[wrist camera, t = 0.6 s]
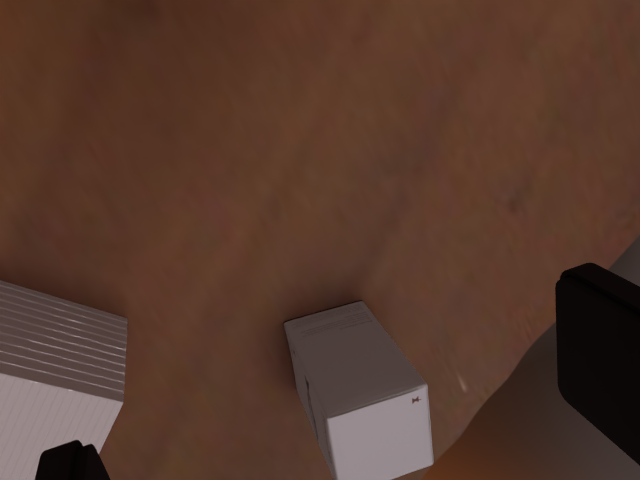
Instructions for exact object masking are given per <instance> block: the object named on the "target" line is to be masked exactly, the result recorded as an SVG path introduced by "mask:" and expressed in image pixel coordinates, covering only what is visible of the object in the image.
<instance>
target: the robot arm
mask: <svg viewBox="0 0 640 480" xmlns="http://www.w3.org/2000/svg"><path fill="white" fill-rule="evenodd" d="M555 292H556V329H557V330H556V331H557V371H558V387H559V390H560V393H561V394H562V396H563V398H564V399H565V400H566V401H567V402H568V403H569V404H570V405H571V406H572V407H573V408H574V409H576V410H577V411H578V412H579V413H580V414H581V415H582V416H584V417H585V418H586V419H587V420H588V421H589V422H590V423H592V424H593V425H594V426H595V427H596V428H597V429H599V430H600V431H601V432H602V433H603V434H604V435H606V436H607V437H608V438H609V439H610V440H611V441H612V442H613V443H615V444H616V445H617V446H618V447H619V448H620V449H622V450H623V451H624V452H625V453H626V454H627V455H628V456H630V457H631V458H632V459H633V460H634V461H635V462H636V463H638V464H639V465H640V287H639V286H637V285H635V284H633V283H631V282H630V281H627V280H626V279H624V278H622V277H619V276H618V275H616V274H614V273H612V272H610V271H608V270H606V269H604V268H602V267H600V266H598V265H596V264H594V263H586V264H583V265H580V266H577V267H574V268H571V269H568V270H565V271H564V272H563V273H562V274H561V276H560V280H559V281H557V283H556V287H555ZM35 480H110V478H109V476H108V473H107V471H106V469H105V467H104V465H103V463H102V461H101V458H100V456H99V454H98V452H97V450H96V448H95V446H94V445H93V444H88V445H85V446H83V445H82V443H81V442H80V441H79V440H74V441H71V442H68V443H65V444H62V445H59V446H57V447H54V448H51V449H48V450H45V451H43V452H42V454H41V456H40V459H39V464H38V468H37V472H36V476H35Z"/></svg>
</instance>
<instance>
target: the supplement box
mask: <svg viewBox="0 0 640 480" xmlns="http://www.w3.org/2000/svg"><path fill="white" fill-rule="evenodd" d="M284 328H285V332H286V336H287V340H288V344H289V349H290V354H291V359H292V364H293V370H294V376H295V382H296V389H297V392H298V395H299V397H300V399H301V402H302V405H303V407H304V409H305V412H306V415H307V417H308V419H309V422H310V424H311V427H312V429H313V432H314V434H315V437H316V439H317V441H318V444H319V446H320V449H321V451H322V453H323V456H324V458H325V460H326V463H327V465H328V467H329V470H330V472H331V475H332V477H333V479H334V480H391V479H394V478H397V477H399V476H402V475H405V474H407V473H410V472H413V471H416V470H419V469H422V468H425V467H428V466H431V465H432V464H433V451H432V439H431V422H430V414H429V401H428V386H427V384H426V382H425V381H424V380H423V378H422V377H421V376H420V375H419V373H418V372H417V371H416V369H415V368H414V367H413V366H412V364H411V363H410V362H409V360H408V359H407V358H406V356H405V355H404V354H403V353H402V351H401V350H400V349H399V347H398V346H397V345H396V344H395V342H394V341H393V340H392V338H391V337H390V336H389V334H388V333H387V332H386V331H385V329H384V328H383V327H382V325H381V324H380V323H379V322H378V320H377V319H376V318H375V316H374V315H373V314H372V312H371V311H370V310H369V309H368V307H367V306H366V305H365V303H364V302H363V301H359V302H355V303H352V304H348V305H344V306H341V307H337V308H333V309H330V310H326V311H322V312H319V313H315V314H312V315H308V316H304V317H301V318H297V319H294V320H291V321H288V322H285V323H284Z"/></svg>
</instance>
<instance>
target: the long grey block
mask: <svg viewBox="0 0 640 480" xmlns="http://www.w3.org/2000/svg"><path fill="white" fill-rule="evenodd" d="M127 323H128V318H125V317H121V316H118V315H115V314H111V313H108V312H105V311H101V310H98V309H95V308H91V307H88V306H85V305H81V304H78V303H74V302H71V301H68V300H64V299H61V298H58V297H54V296H51V295H48V294H44V293H41V292H38V291H34V290H31V289H28V288H24V287H21V286H18V285H14V284H11V283H8V282H4V281H1V280H0V480H35V476H36V472H37V468H38V464H39V459H40V456H41V454H42V452H43V451H45V450H48V449H51V448H54V447H57V446H59V445H62V444H65V443H68V442H71V441H74V440H79V441H80V442H81V443H82V445H83V446H85V445H88V444H93V445H94V446H95V448H96V450H97V452H98V454H99V453H100V450H101V448H102V446H103V444H104V442H105V440H106V438H107V436H108V434H109V432H110V430H111V427H112V425H113V423H114V421H115V419H116V417H117V415H118V413H119V411H120V409H121V407H122V404H123V402H124V394H123V393H124V382H125V376H124V375H125V363H126V359H125V358H126V352H125V351H126V343H127V337H126V336H127Z"/></svg>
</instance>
